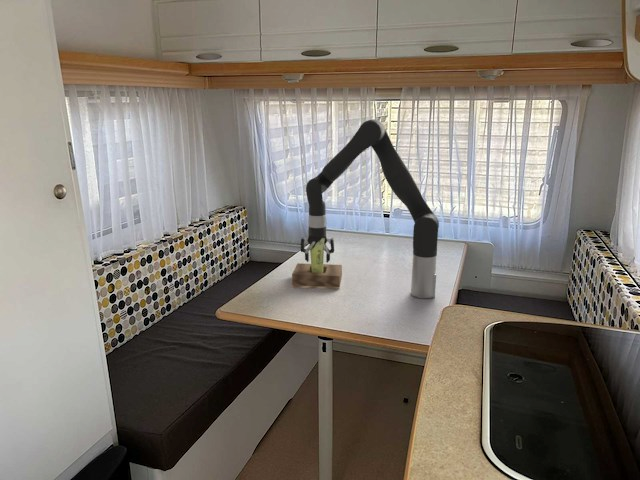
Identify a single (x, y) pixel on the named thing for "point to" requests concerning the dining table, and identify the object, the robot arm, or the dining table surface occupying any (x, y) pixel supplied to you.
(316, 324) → the dining table surface
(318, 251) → the tube
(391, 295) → the dining table surface
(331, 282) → the slotted block
